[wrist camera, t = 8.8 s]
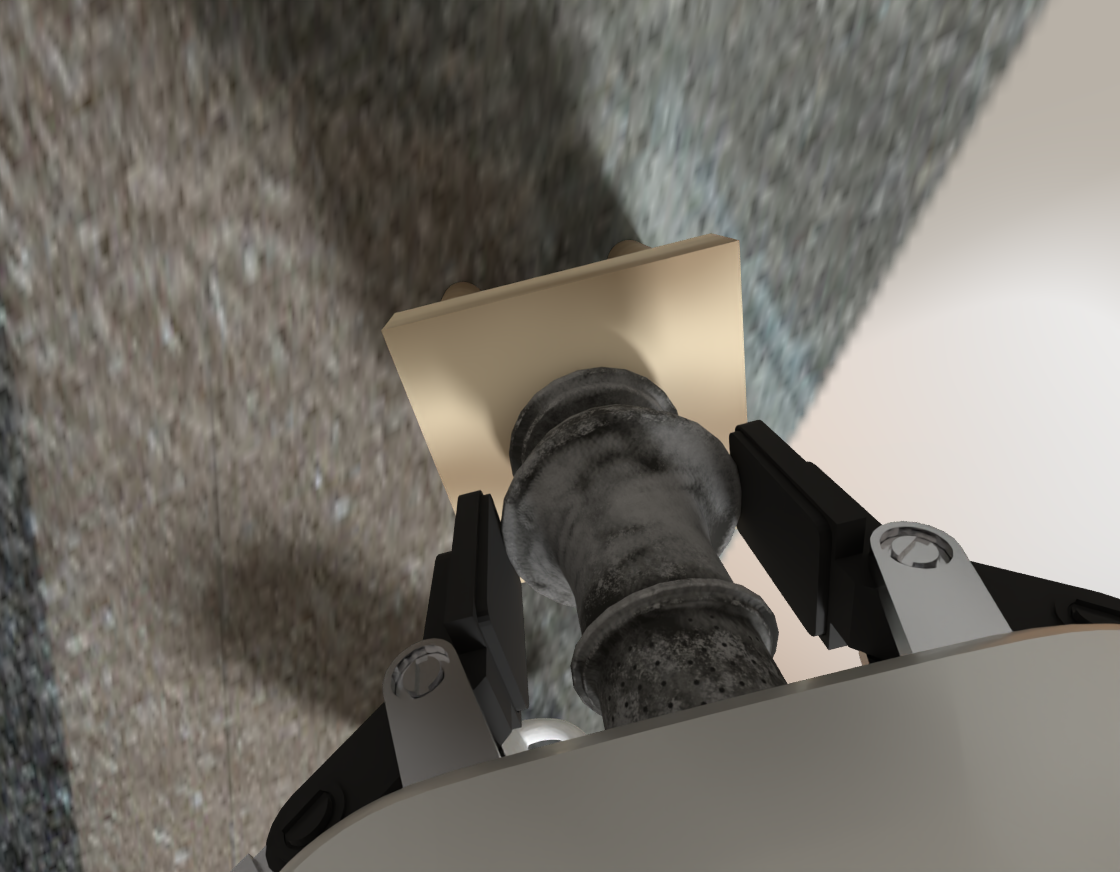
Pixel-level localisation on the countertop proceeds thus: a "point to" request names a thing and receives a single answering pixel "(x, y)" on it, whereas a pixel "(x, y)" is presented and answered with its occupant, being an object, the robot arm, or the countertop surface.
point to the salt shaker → (635, 546)
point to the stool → (572, 348)
